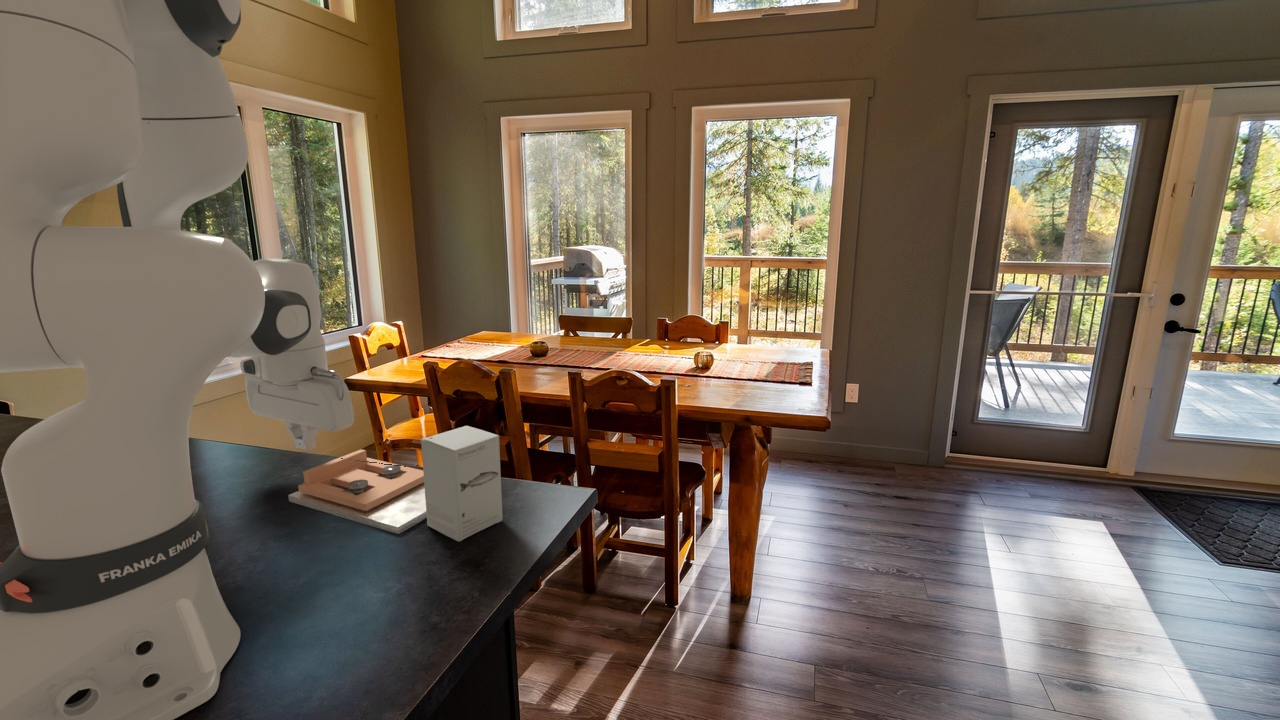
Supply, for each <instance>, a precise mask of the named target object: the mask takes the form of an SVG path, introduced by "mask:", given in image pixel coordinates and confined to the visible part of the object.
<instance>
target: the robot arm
mask: <svg viewBox="0 0 1280 720" xmlns="http://www.w3.org/2000/svg"><path fill="white" fill-rule="evenodd" d="M241 4H242V3H241V0H0V374H1V373H2V374H3V373H16V372H30V371H31V372H32V371H40V370H41V371H45V370H54V369H56V370H58V369H71V368H72V369H73V368H74V369H84V371H85V375H86V379H87V391H86V395H85V398H84V399H83V400H81V401H79V402H77V403H75V404H72V405H70V406H68V407H66V408H64V409H62V410H60V411H58V412H56V413H54V414H53V415H50V416H48V417H47V418H45V419H43V420H41V421H39V422H38V423H35V424H33V425H32V426H30V427H29V428H28V429H26V430H25V431H23V432H22V433H21V434H20V435H18V436H17V437H16V439H15V440H14V441H13V442H12V443H11V444H10V445H9V447H8V448H7V451H6V452H5V455H4V457H3V459H2V464H1V469H0V470H1V475H2V479H3V483H4V488H5V492H6V496H7V499H8V503H9V507H10V512H11V514H12V515H11V516H12V520H13V523H14V527H15V532H16V536H17V539H18V543H19V544H18V545H17V546H16V548H15V549H14V551H13V552H12V553H11V554H10V555H9V556H8V557H7V559H6V560H4V561H3V562H0V720H175V719H177V718H179V717H181V716H182V715H185V714H186V713H188V712H189V711H192V710H194V709H195V708H197V707H199V706H201V705H202V704H204V703H206V702H208V701H209V700H211V698H213V696H215V695H216V693H217V691H218V689H219V685H220V679H221V672H222V670H223V669H224V667H225V666H226V665H227V663H228V662H229V660H230V659H231V658H232V656H233V655H234V654H235V652H236V650H237V648H238V646H239V643H240V641H241V636H242V635H241V633H242V632H241V629H240V627H239V624H238V623H237V622H236V620H235V619H234V617H233V616H232V614H231V613H230V611H229V609H228V608H227V606H226V603H225V601H224V600H223V597H222V594H221V593H220V590H219V588H218V585H217V582H216V579H215V577H214V574H213V571H212V568H211V567H212V566H211V563H210V561H209V557H208V556H209V555H210V553H211V552H210V551H211V546H210V545H211V544H210V540H209V529H208V524H207V521H206V519H205V518H206V517H205V514H204V508H203V505H202V503H201V502H200V501H199V500H197V499H195V493H194V486H193V479H192V469H191V460H190V459H191V458H190V446H189V445H190V444H189V442H190V441H189V440H190V439H189V425H190V418H191V415H192V414H191V413H192V410H193V408H194V407H193V406H194V404H195V401H196V400H197V396H198V395H199V392H200V391H201V390H202V387H203V385H204V384H205V382H206V381H207V380H208V378H209V376H210V375H211V374H212V373H213V371H214V370H216V368H218V366H219V365H220V364H221V363H222V362H223V361H224V360H225V359H226V358H243V357H247V358H245V359H242V360H241V361H240V364H239V365H240V370H241V373H243V374H244V375H245V377H244V387H245V393H246V398H247V404H248V406H249V408H250V411H252V413H253V414H254V415H255V416H261V417H264V418H269V419H275V420H279V421H282V422H285V427H286V429H287V431H288V433H289V435H290V437H292V441H293V442H292V443H293V446H294V447H295V448H296V449H297V448H298V449H302V450H306V451H310V450H313V449H315V448H316V447H317V440H316V437H317V435H318V432H319V431H320V430H322V431H327V432H332V433H336V432H339V431H342V430H345V429H347V428H350V427H351V426H352V425H353V423H354V421H355V414H354V407H353V402H352V397H351V394H350V391H349V388H348V386H347V383H345V381H344V378H342V377H341V375H339V374H338V372H337V371H336V370H333V369H328V360H327V351H326V343H325V338H324V337H323V334H322V331H321V322H322V321H321V320H322V308H321V301H320V296H319V291H318V287H317V286H318V285H317V283H316V279H315V276H314V272H313V271H312V268H311V267H310V265H309V264H307V263H305V262H303V261H301V260H298V259H297V260H296V259H291V258H290V259H286V258H273V257H268V258H267V257H266V258H259V259H256V260H252V259H251V258H250V257H249V256H248V254H247V253H246V252H245V251H244V250H243V249H242V248H240V247H239V246H238V244H236V243H235V242H233V241H232V240H230V239H229V238H227V237H222V236H218V235H217V236H216V235H212V234H207V233H206V234H205V233H201V232H195V231H189V230H182V229H181V222H182V218H183V215H184V213H185V212H186V210H187V209H188V208H189V207H190V206H192V205H193V204H195V203H198V202H200V201H202V200H204V199H206V198H209V197H211V196H214V195H216V194H218V193H220V192H222V191H224V190H226V189H228V188H229V187H230V186H233V184H235V182H237V181H238V180H239V178H240V177H241V176H242V175H243V173H244V172H245V169H246V168H247V165H248V162H249V147H248V145H249V144H248V140H247V135H246V132H245V128H244V125H243V122H242V118H241V115H240V112H239V109H238V107H239V106H238V105H237V101H236V99H235V95H234V92H233V89H232V87H231V84H230V80H229V78H228V76H227V74H226V72H225V68H224V67H223V64H222V62H221V60H220V58H219V56H220V55H221V52H222V49H223V45H225V44H228V42H230V41H232V40H233V38H234V36H235V35H236V33H237V31H238V29H239V27H240V25H241V21H242V11H241V6H242V5H241ZM114 186H116V192H117V199H118V200H117V201H118V205H119V212H120V216H121V217H120V219H121V222H122V226H95V225H94V226H89V225H88V226H87V225H86V226H83V225H81V226H80V225H79V226H78V225H77V226H75V225H73V226H71V225H70V226H69V225H66V226H64V225H62V223H63V222H64V220H65V217H66V216H67V214H68V213H69V212H70V211H71V210H72V209H73V208H74V207H75V206H76V205H77V204H79V202H81V201H82V200H84V199H86V198H87V197H89V196H92V195H94V194H96V193H98V192H101V191H104V190H106V189H109V188H111V187H114Z"/></svg>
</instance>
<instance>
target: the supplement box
mask: <svg viewBox="0 0 1280 720" xmlns="http://www.w3.org/2000/svg"><path fill="white" fill-rule="evenodd" d="M420 443H421V444H420V445H421V457H422V458H421V459H422V470H423V473H424V486H425V500H426V513H427V518H426V525H427V526H428V527H429V528H431V529H433V530H435V531H437V532H439V533H440V534H443V536H446V537H448V538H450V539H452V540H454V541H456V542H459V543H460V542H462V541H464V540H465V539H466V538H468V537H471V536H473V535H475V534H476V533H478V532H481V531H483V530H485V529H487V528H489V527H491V526H493V525H495V524H499V523H500V522H503V519H504V518H503V517H504V516H503V499H502V498H503V497H502V495H503V494H502V493H503V492H502V477H501V474H502V473H501V456H500V455H501V453H500V435H499V434H495V433H492V432H489V431H486V430H484V429H480V428H476V427H472V426H469V425H464V426H461V427H457V428H454V429H451V430H447V431H444V432H441V433H438V434H433V435H431V436H428V437H423V438H421V439H420Z"/></svg>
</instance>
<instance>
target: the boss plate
mask: <svg viewBox="0 0 1280 720" xmlns="http://www.w3.org/2000/svg"><path fill="white" fill-rule="evenodd" d="M364 471H368V472H372V473H376V474H379V477H383V478H387V479H393V478H395V477H398V476H399V475H397V474H398V473H400V472H401V467H400V466H394V465H390V466H386V467H384V468H383V469H382V472H383V474H382V473H378V472H374V471H370V470H364ZM330 486H333V487H337V488H341V489H345V492H346V493H350V494H353V495H359V494H361V493H363V492H366V491H367V490H364V489H365V488H367V487H368V481H367V480H363V479H361V480H355V481H352V482H350V483H349V484H348V488H346V487H342V486H339V485H335V484H331V485H330ZM287 497H288V501H289V503H292V504H296V505H299V506H304V507H305V508H309V509H314V510H317V511H320V512H323V513H326V514H329V515H334V516H337V517H340V518H343V519H346V520H350V521H353V522H355V523H360V524H363V525H366V526H369V527H373V528H377V529H380V530H382V531H387V532H390V533H393V534H396V535H400V534H402V533H403V532H405V531H406V530H408V529H410V528H412V527H414V526H416V525H418V523H420V522H422V521H424V520H425V519H426V520H427V513H426V500H425V486H424V482H423V483H421V484H419V485H417V486H415V487H413V488H411V489H409V490H407V491H405V492H403V493H401V494H399V495H397V496H395V497H393V498H391V499H389V500H387V501H385V502H383V503H381V504H379V505H377V506H375V507H373V508H371V509H369V510H367V511H364V510H361V509H357V508H354V507H350V506H347V505H343V504H340V503H336V502H333V501H329V500H326V499H322V498H319V497H315V496H312V495H308V494H305V493H301V492H299V490H298V491H294V492H292V493H290V494H288V495H287Z"/></svg>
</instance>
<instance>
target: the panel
mask: <svg viewBox="0 0 1280 720" xmlns="http://www.w3.org/2000/svg"><path fill="white" fill-rule="evenodd" d="M367 456H368V455H367V450H365V449H358V450H356V451H353V452H350V453H348V454H346V455H343V456H339V457H337V458H334V459H332V460H329V461H327V462H325V463H322V464H319V465H317V466H314V467H312V468H309V469H306V470H304V471H303V472H302V473H303V483H302V484H299V485H298V491H299V492H301V493H305V494H308V495H312V496H315V497H319V498H322V499H326V500H329V501H333V502H336V503H340V504H343V505H347V506H350V507H354V508H357V509H361V510H364V511H367V510H369V509H371V508H373V507H375V506H377V505H379V504H381V503H383V502H385V501H387V500H389V499H391V498H393V497H395V496H397V495H399V494H401V493H403V492H405V491H407V490H409V489H411V488H413V487H415V486H417V485H419V484H421V483H423V482H424V473H423V469H418V468H415V467H410V466H406V467H404V466H405V465H401V466H400V467H401V472H400V473H398V474H397V475H399V476H398V477H395V478H393V479H387V478H383V477H379V474H376V473H372V472H368V471H364V470H370V471H374V472H378V473H382V474H383V472H382V469H383V468H384V467H386V466H390V465H384V464H392V465H398V464H396V463H392V462H388V461H385V460H379V459H375V458H371V457H367ZM341 458H343V459H341ZM349 459H353V460H349ZM355 460H360V461H369V462H377V463H369V462H360V461H355ZM379 463H380V464H379ZM381 463H383V464H381ZM361 479H363V480H367V481H368V487H367V488H365V489H364V490H367V491H366V492H363V493H361V494H359V495H353V494H350V493H346V492H345V489H341V488H337V487H333V486H330V485H331V484H335V485H339V486H342V487H346V488H348V484H349V483H350V482H352V481H355V480H361Z"/></svg>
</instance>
